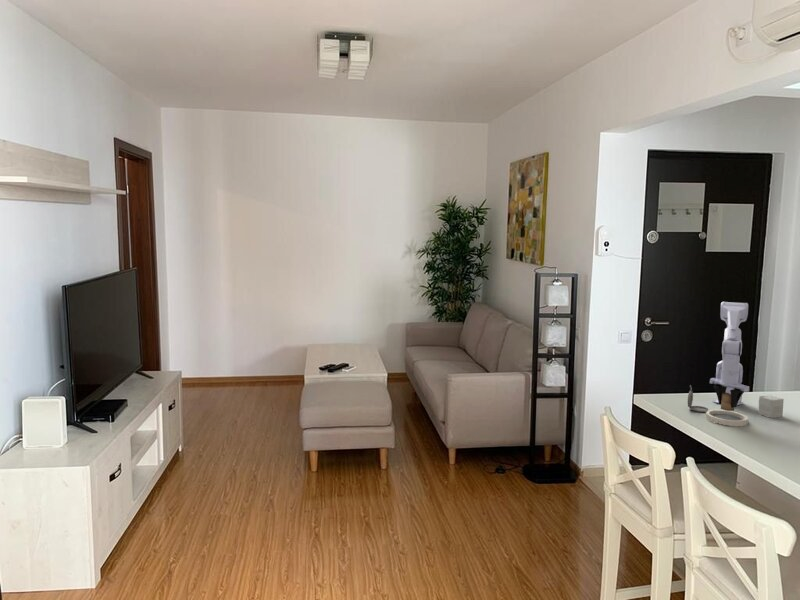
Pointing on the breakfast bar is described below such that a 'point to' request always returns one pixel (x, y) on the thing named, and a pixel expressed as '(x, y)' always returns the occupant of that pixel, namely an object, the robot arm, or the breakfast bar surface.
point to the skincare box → (770, 406)
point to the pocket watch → (694, 408)
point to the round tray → (727, 417)
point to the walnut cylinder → (726, 402)
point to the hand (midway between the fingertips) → (727, 405)
